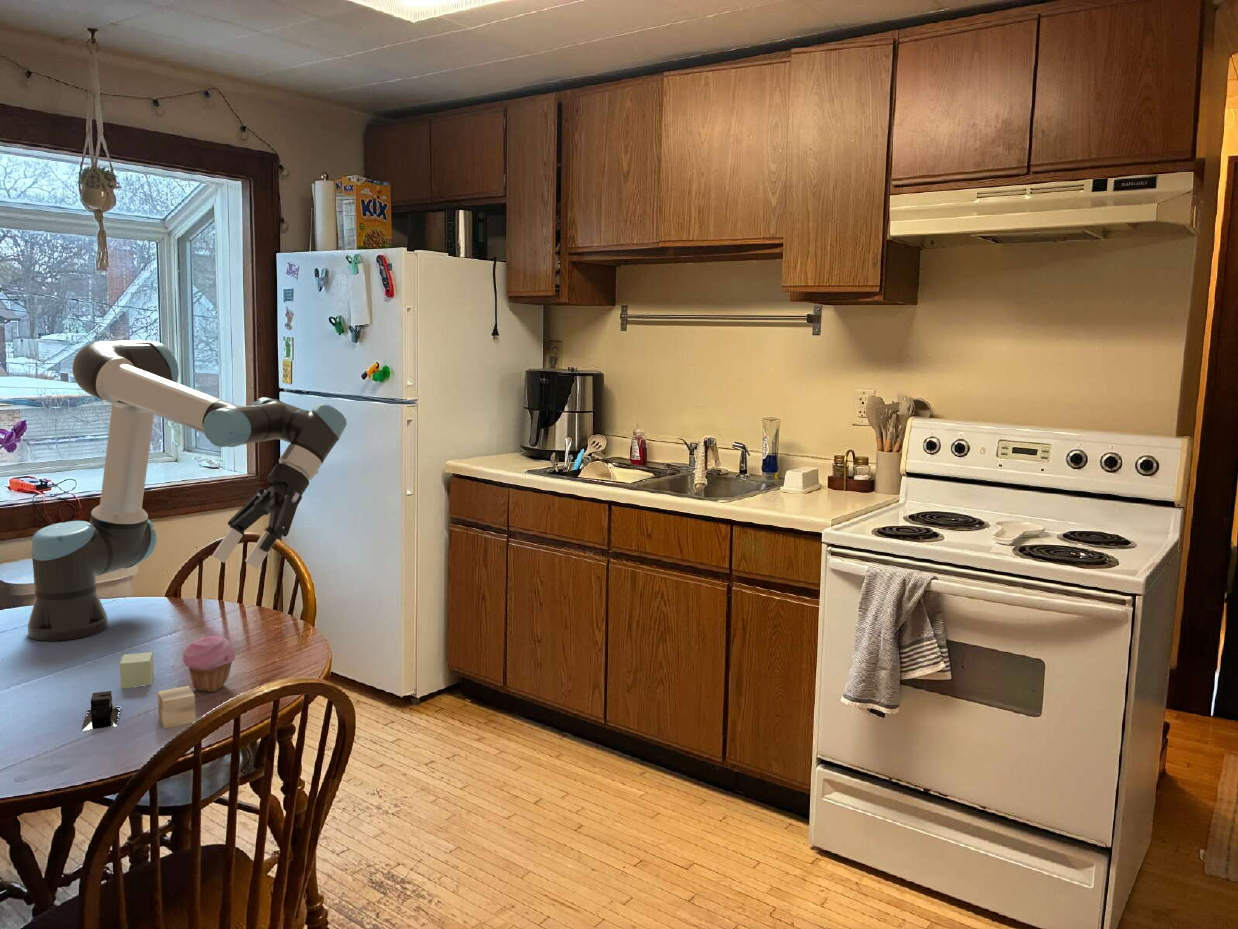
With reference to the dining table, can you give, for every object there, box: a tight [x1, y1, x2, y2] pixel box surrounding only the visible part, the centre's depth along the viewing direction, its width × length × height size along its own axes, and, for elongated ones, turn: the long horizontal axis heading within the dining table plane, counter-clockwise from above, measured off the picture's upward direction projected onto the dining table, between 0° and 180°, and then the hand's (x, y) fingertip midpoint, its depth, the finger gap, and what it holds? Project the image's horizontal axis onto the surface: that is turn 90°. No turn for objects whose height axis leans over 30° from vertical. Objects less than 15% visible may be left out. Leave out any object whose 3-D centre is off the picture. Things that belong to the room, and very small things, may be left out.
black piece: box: [81, 690, 121, 732], centre depth 162 cm, size 12×7×5 cm, turn 24°
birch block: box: [157, 685, 197, 730], centre depth 162 cm, size 5×5×5 cm
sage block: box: [119, 651, 155, 689], centre depth 178 cm, size 5×5×5 cm
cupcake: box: [182, 635, 236, 693], centre depth 176 cm, size 9×9×10 cm
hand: (234, 562), depth 180 cm, fingers open, 13 cm apart
